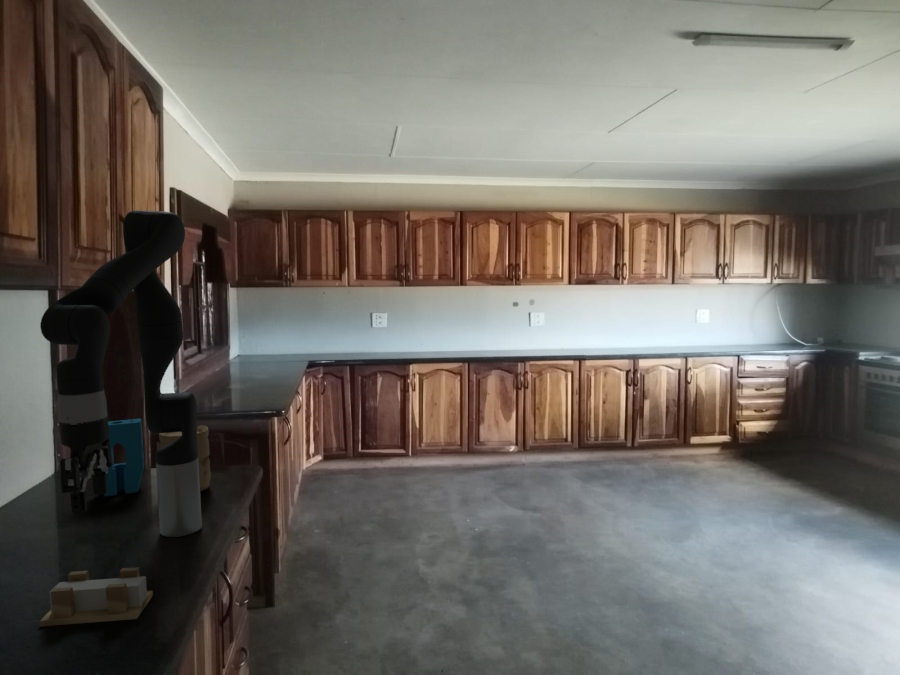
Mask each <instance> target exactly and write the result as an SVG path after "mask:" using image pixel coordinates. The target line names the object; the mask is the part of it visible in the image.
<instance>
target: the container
mask: <svg viewBox="0 0 900 675" xmlns="http://www.w3.org/2000/svg"><path fill="white" fill-rule="evenodd" d="M158 436H159V437H158V438H159V442H160V443H159V448H161V447H162V446H165V445H167V444H170V443H172V442H174V441H176V440H177V439H179V438H180V437H181V436H182V432H170V433H158ZM197 448H198V465H199V481H200V492H202V491H205V490H207V489H208V488H209V486H210V484H211V479H212V473H211V462H210V459H209V456H210V453H211V452H210V441H209V428H208V426H206V425H197Z"/></svg>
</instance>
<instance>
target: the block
mask: <svg viewBox="0 0 900 675" xmlns="http://www.w3.org/2000/svg"><path fill="white" fill-rule="evenodd" d="M108 427H109V440H110V450H111V459H112V466H111V467H108V473H107V474H106V476H107V489H108V491H107V493H106V494H103V496H104V497H112V496H113V497H114V496H117V495H118V493H119V492H123V491H124V494H127V495H128V494H134V493H138V492H139V489H140V485H141V481H142V477H143V473H144V468H145V458H144V457H145V456H144V442H143V441H144V440H143V439H144V438H143V425H142V418H133V419H121V420H110V421H109V420H108ZM116 444H119V445H120V446H122V447H123V448H124V450H125V451H124V453H125V462H121V463H115V462H114V460H115V459H114V447H115V445H116ZM104 457H105V456H104ZM105 458H106V457H105Z"/></svg>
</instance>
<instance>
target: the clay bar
mask: <svg viewBox="0 0 900 675" xmlns="http://www.w3.org/2000/svg"><path fill="white" fill-rule="evenodd" d="M122 583H126V584H127V599H128V608H130V607H140V606H141V605H142V603H143V602H144V600H145V599H146V598H147V591H148V590H147V588H148V587H147V577H146V576H145V575H144V576H143V575H142V576H140V577H128V578H120V577H116V578H114V577H113V578H104V579H103V578H101V579H89V580H86V581H71V582H68V581H60V582H58V583H57V584H56V585H55V586H54V587H53V588H52V589H51V590H50V591H49V593H48V594H49V601H50V610H51V614H52V613H53V610H52V599H51V591H52V590H53V589H54V588H65V587H73V598H74V610H75V612H78V611H91V610H104V609H107V599H106V587H107V586H108V585H109V584H122Z"/></svg>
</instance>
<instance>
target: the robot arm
mask: <svg viewBox="0 0 900 675" xmlns="http://www.w3.org/2000/svg"><path fill="white" fill-rule="evenodd" d="M122 235H123V236H122V237H123V243H124V244H123V245H124V248H125V253H123V254H121V255H119V256H116V257H114V258H111V259H110V260H109V261H106V263H104V264H102V265H101V266H100V267H98V269H97V270H96V271H95V272H93V274H91V276H89V278H87V280H86V281H85V282H84V283H83V284H82V285H81V286H80V287H78V288H76V289H74V290H73V291H70V292H69V293H67V294H65V295H64V296H62V297H61V298H59V299H57V300H56V301H54V302H53V303H52V304H51V305H50V306H49V307H48V308H46V310H45V311H44V313H43V315H42V316H41V319H40V320H41V321H40V326H39V327H40V332H41V334H42V336H43V337H44V339H46V340H47V341H48V342H49V343H52V344H55V345H64V346H65V345H70V346H73V345H74V346H76V345H78V348H77V351H76V353H75V356H74V357H70V358H65V359H63V360H60V361H59V362H58V363H57V365H56V370H55V372H56V383H57V385H56V386H57V393H58V394H57V399H58V400H57V413H58V416H57V417H58V425H59V428H58V429H59V438H60V444H61V445H62V446H63V447H68V448H69V449H70V453H69V454H70V455H69V457H67V458H61V459H60V462H59V463H60V464H59V465H60V467H59V468H60V483H61V493H62V494H70V505H71V512H72V513H73V514H85V512H87V511H88V504H87V503H88V502H87V492H86V488H87V483H88V480H90V479H91V478H92V487H93V488H92V490H93V494H94V495H95V496H98V495H99V496H100V495H104V494H106V493H107V491H108V489H107V476H106V474H107V473H108V467H111V466H112V459H111V450H110V440H109V427H108V422H109V416H108V405H107V404H108V402H107V397H106V393H105V387H104V386H105V385H104V374H103V373H104V372H103V371H104V370H103V367H104V361H105V356H106V351H107V347H108V342H109V337H110V334H111V321H110V319H109V318H110V317H109V316H108V315H111V314H112V313H114V312H115V311H116V310H118V309H119V307H120V306H121V305H122V304H123V302H124V301H125V300H126V299H127V298H128V296H130V294H131V293H132V292H133V295H134V296H133V298H134V303H135V305H134V306H135V314H136V315H135V318H136V326H137V336H138V343H139V347H140V349H139V350H140V355H141V364H142V372H143V373H142V374H143V394H144V396H143V397H144V399H143V400H144V416H145V423H146V427H147V429H148V431H149V432H150V433H152V434H159V433H170V432H182V436H181V437H180V438H179V439H177V440H176V441H174V442H172V443H170V444H167V445H165V446H162V447H161V448H160V447H159V448H157V449H156V451H155V454H154V457H155V458H154V459H155V460H154V461H155V468H156V469H155V472H156V484H157V485H156V486H157V487H156V488H157V502H158V504H157V505H158V517H159V518H158V519H159V520H158V522H159V532H160V535H161V536H163V537H168V538H178V537H179V538H180V537H184V536H189V535H191V534H194V533H196V532H198V531H199V530H201V529H202V527H203V521H202V520H203V519H202V505H201V504H202V502H201V501H202V500H201V491H200V481H199V465H198V448H197V427H198V420H197V419H198V408H197V407H198V406H197V400H196V397H195V395H194V394H193V393H192V392H189V391H188V392H187V391H186V392H185V391H184V392H169V393H167V392H166V393H162V392H161V385H162V381H163V378H164V376H165V374H166V372H167V370H168V368H169V367H170V365H171V364H172V361H173V360H174V359H175V357H176V355H177V353H178V352H179V350H180V349H181V347H182V344H183V342H184V326H183V317H182V312H181V311H182V310H181V309H180V307H179V304H178V302H177V301H176V300H175V299H174V296H173V295H172V294H171V293H170V292H169V290H168V289H167V288H166V286H165V285H164V283H163V281H162V280H161V279H160V277H159V275H158V273H157V269H158V268H159V267H161V266H162V265H163V264H164V263H165V262H167V261H168V260H169V259H171V258H173V257H174V255H176V254H177V253H178V252H179V251H180V249H181V248H182V247H183V245H184V243H185V237H186V229H185V225H184V222H183V220H182V218H181V217H180V216H179V215H177V214H176V213H174V212H172V211H170V212H169V211H163V210H162V211H160V210H159V211H157V210H142V209H141V210H139V209H135V210H130V211H129V212H128V213H126V215H125V216H124V219H123V224H122ZM104 456H105V457H106V458H105V457H104Z"/></svg>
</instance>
